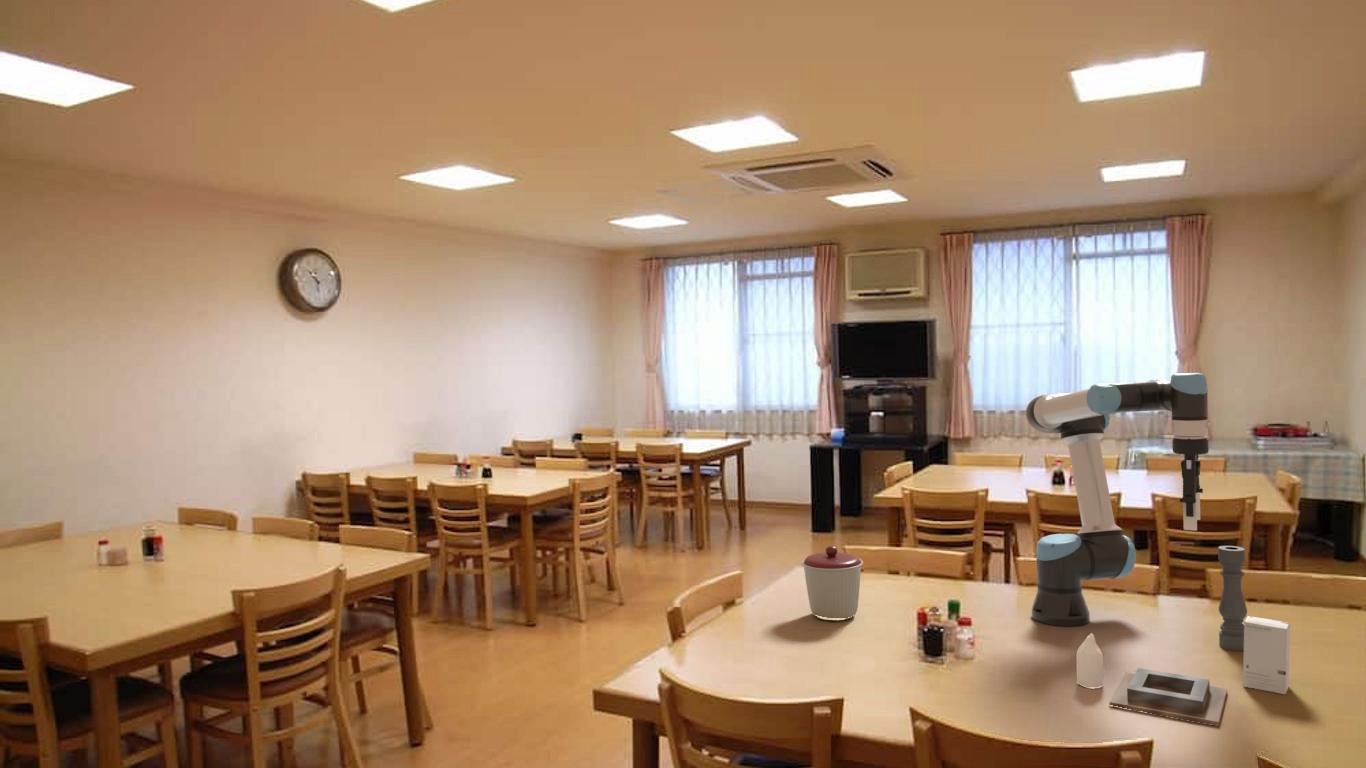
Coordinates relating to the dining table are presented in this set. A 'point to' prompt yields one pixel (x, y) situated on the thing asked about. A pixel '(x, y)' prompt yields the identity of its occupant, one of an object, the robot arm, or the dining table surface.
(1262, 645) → the skincare box
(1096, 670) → the white bottle-shaped piece
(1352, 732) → the dining table surface
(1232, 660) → the dining table surface
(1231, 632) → the candle holder
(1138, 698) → the socket
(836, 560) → the canister
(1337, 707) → the dining table surface
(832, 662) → the dining table surface
